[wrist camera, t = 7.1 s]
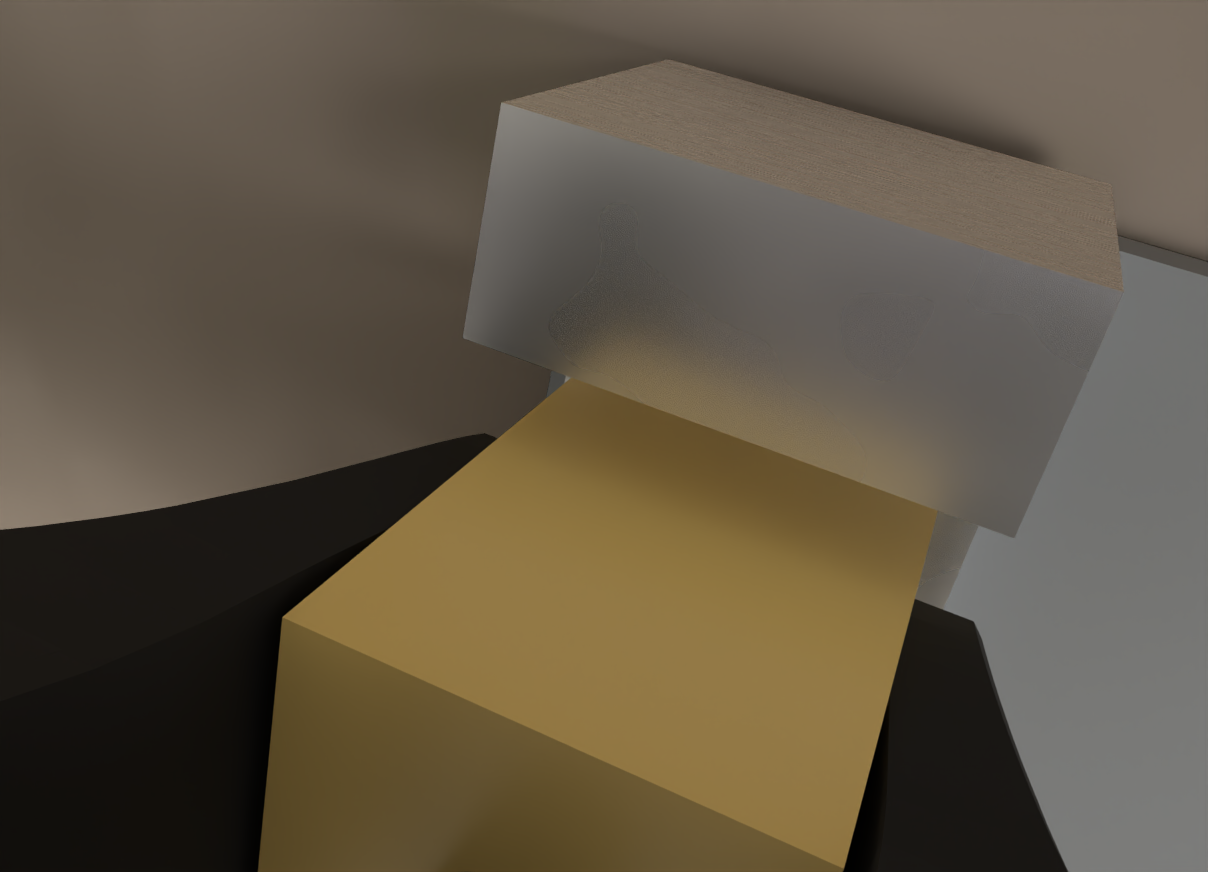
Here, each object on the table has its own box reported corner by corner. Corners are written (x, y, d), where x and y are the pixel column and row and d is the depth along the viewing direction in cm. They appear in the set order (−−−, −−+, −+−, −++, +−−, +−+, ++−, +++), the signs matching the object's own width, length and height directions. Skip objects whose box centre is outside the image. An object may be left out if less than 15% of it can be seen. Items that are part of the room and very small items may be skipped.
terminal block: (1111, 185, 10) (1123, 293, 7) (828, 856, 13) (753, 1123, 10) (669, 58, 10) (501, 102, 7) (519, 717, 14) (365, 924, 11)
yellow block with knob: (949, 466, 10) (799, 1041, 5) (839, 745, 11) (630, 1418, 6) (608, 346, 11) (154, 724, 5) (545, 621, 12) (141, 1127, 7)
